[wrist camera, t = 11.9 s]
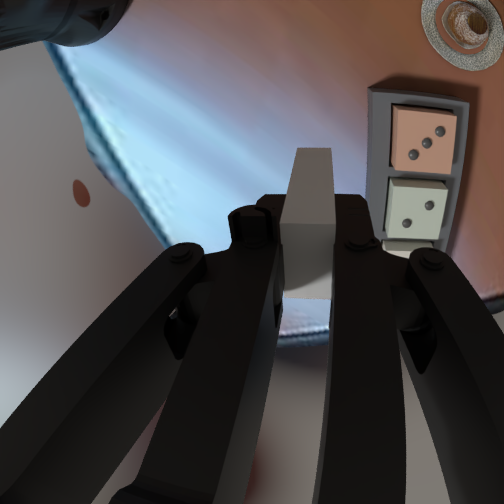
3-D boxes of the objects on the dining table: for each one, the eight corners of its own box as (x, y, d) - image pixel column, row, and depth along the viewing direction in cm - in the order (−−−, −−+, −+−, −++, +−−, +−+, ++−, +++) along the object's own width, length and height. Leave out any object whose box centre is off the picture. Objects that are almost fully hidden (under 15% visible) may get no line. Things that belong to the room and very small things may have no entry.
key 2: (383, 221, 41) (388, 238, 38) (387, 173, 37) (394, 187, 34) (430, 223, 40) (438, 240, 36) (438, 176, 36) (448, 190, 32)
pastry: (513, 51, 24) (531, 54, 20) (452, 84, 30) (466, 89, 27) (467, -28, 20) (481, -34, 16) (399, 3, 26) (409, -2, 22)
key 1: (376, 272, 46) (378, 291, 43) (381, 233, 42) (385, 251, 39) (418, 273, 45) (424, 292, 41) (427, 235, 41) (435, 252, 37)
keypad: (358, 271, 49) (359, 289, 46) (367, 87, 33) (372, 91, 30) (428, 273, 47) (433, 290, 44) (456, 97, 31) (469, 103, 27)
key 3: (388, 158, 36) (395, 170, 33) (390, 103, 32) (398, 110, 29) (440, 162, 34) (450, 175, 31) (444, 108, 30) (457, 116, 27)
